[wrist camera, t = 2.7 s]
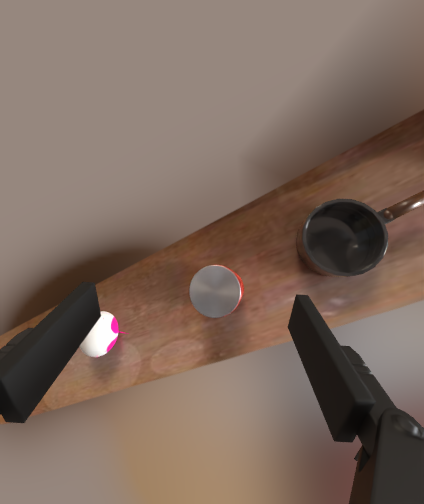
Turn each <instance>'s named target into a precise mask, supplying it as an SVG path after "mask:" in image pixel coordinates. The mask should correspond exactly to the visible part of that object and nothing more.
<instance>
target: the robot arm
mask: <svg viewBox="0 0 424 504" xmlns="http://www.w3.org/2000/svg"><path fill="white" fill-rule="evenodd" d="M100 317H101V313H100V307H99V302H98V297H97V292H96V287H95V283H92V282H82V283H81V284H80V285H79V286H78V287H77V288H76V289H75V290H74V291H73V292H72V293H71V294H70V295H68V296H67V297H66V298H65V299H64V300H63V301H62V302H61V303H60V304H59V305H58V306H57V307H56V308H55V309H54V310H53V311H52V312H50V313H49V314H48V315H47V316H46V317H45V318H44V319H43V320H42V321H41V322H40V323H39V324H38V325H37V326H36V327H35V328H28V329H26V330H24V331H23V332H21V333H19V334H17V335H16V336H15V337H14V338H13V339H11V340H10V341H9V342H8V343H7V345H6V346H4V347H3V348H1V349H0V414H2V416H3V418H4V420H5V421H6V422H13V423H24V422H25V421H26V420H27V418H28V417H29V416H30V414H31V413H32V411H33V410H34V409H35V407H36V406H37V404H38V403H39V402H40V400H41V399H42V398H43V396H44V395H45V393H46V392H47V391H48V389H49V388H50V386H51V385H52V384H53V382H54V381H55V380H56V378H57V377H58V375H59V374H60V373H61V371H62V370H63V368H64V367H65V366H66V364H67V363H68V361H69V360H70V359H71V357H72V356H73V355H74V353H75V352H76V350H77V349H78V348H79V346H80V345H81V343H82V342H83V341H84V339H85V338H86V337H87V335H88V334H89V332H90V331H91V330H92V328H93V327H94V325H95V324H96V323H97V321H98V320H99V318H100ZM288 329H289V331H290V334H291V336H292V339H293V341H294V344H295V346H296V349H297V351H298V353H299V356H300V358H301V361H302V363H303V366H304V368H305V371H306V373H307V375H308V378H309V381H310V383H311V385H312V388H313V390H314V393H315V395H316V398H317V400H318V402H319V405H320V408H321V410H322V412H323V415H324V417H325V420H326V422H327V425H328V427H329V430H330V432H331V435H332V437H333V440H334V441H337V442H353V440H354V439H355V437H356V435H358V437H359V439H360V441H361V443H362V447H361V448H360V450H359V451H358V453H357V455H356V456H355V458H354V459H355V460H356V461H358V462H357V467H356V472H355V476H354V481H353V487H352V492H351V496H350V501H349V504H424V428H423V427H421V425H420V424H419V423H418V422H417V421H416V420H415V419H414V418H413V417H411V416H410V415H409V414H407V413H406V412H404V411H402V410H400V409H397V408H396V406H395V405H394V404H393V402H392V401H391V400H390V398H389V396H388V395H387V394H386V392H385V391H384V389H383V388H382V387H381V385H380V384H379V382H378V381H377V380H376V378H375V377H374V375H372V373H371V371H370V370H369V368H368V367H367V366H366V364H365V363H364V361H363V360H362V358H361V357H360V356H359V354H357V353H356V352H355V351H354V350H353V349H352V348H351V347H350V346H340V344H339V343H338V341H337V340H336V338H335V337H334V335H333V334H332V332H331V330H330V329H329V327H328V326H327V324H326V323H325V321H324V319H323V318H322V316H321V315H320V313H319V312H318V310H317V309H316V307H315V305H314V304H313V302H312V301H311V299H310V298H309V296H308V295H296V297H295V301H294V305H293V309H292V313H291V317H290V321H289V324H288Z"/></svg>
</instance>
